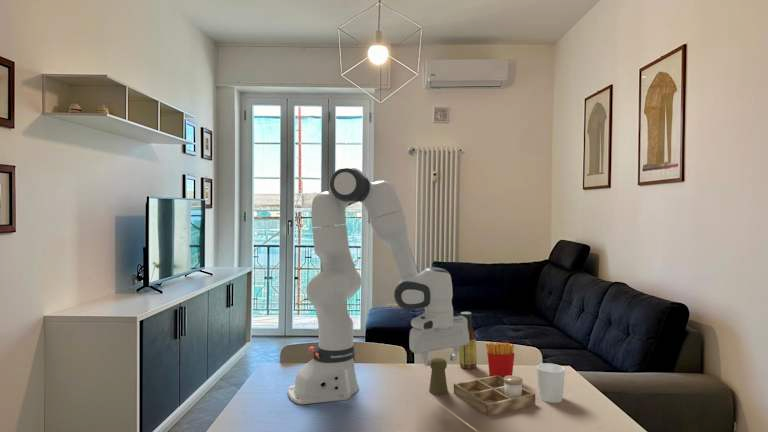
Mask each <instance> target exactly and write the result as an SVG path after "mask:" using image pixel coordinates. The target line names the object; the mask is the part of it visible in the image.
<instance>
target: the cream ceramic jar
mask: <svg viewBox="0 0 768 432" xmlns="http://www.w3.org/2000/svg"><path fill="white" fill-rule="evenodd" d="M522 388H523V378H522V377H521V376H518V375H513V374H512V375H510V376H505V377H504V394H505V395H506V396H508V397H510V398H515V397H520V396H522Z"/></svg>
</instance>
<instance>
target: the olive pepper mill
mask: <svg viewBox="0 0 768 432" xmlns="http://www.w3.org/2000/svg"><path fill="white" fill-rule="evenodd" d="M430 360H431V365H430V369H431V371H430V372H431V375H430V382H429V388H428V389H429V391H428V392H429V393H430V394H431V395H434V396H444V395H446V394H448V393H449V391H448V383H447V375H446V369H447V366H448V365H447V361H446V359H444V358H443V357H433V358H432V359H430Z"/></svg>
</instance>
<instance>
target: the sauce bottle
mask: <svg viewBox="0 0 768 432" xmlns="http://www.w3.org/2000/svg"><path fill="white" fill-rule="evenodd" d="M460 316H464V317H466V319H467V322H468V326H467V327H468V332H469V343H468V344H467V345H463V346H460V350H459V352H458V358H459V359H458V360H459V366H461V367H462V369H465V370H473V369H475V368H476V367H477V362H478V361H477V360H478V359H477V358H478V357H477V339H476V338H477V335H476V332H475V330H474V328H473V323H472V322H473V321H472V317H473V315H472V312H471V311H461V312H460ZM463 319H464V318H463ZM461 367H460V368H461Z"/></svg>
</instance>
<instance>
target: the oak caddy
mask: <svg viewBox="0 0 768 432" xmlns="http://www.w3.org/2000/svg"><path fill="white" fill-rule="evenodd" d="M453 394H454V395H455V396H457V397H459V398H460V399H461V400H463V401H465V402H466V403H467V404H469V405H471V406H472V407H474V409H477V410H478V411H479V412H481V413H482V414H484V415H485V416H486V417H488V416H493V415H499V414H502V413H505V412H509V411H513V410H519V409H522V408H527V407H530V406H531V407H532V406H534V405H536V394H535V393H533V392H532V391H530V390H528V389H526V388H524V387H522V396H520V397H515V398H510V397H508V396H506V395H505V394H504V378H503V377H501V376H499V375H496V376H490V375H489V376H486V377H481V378H476V379H471V380H465V381H461V382H455V383H453Z"/></svg>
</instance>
